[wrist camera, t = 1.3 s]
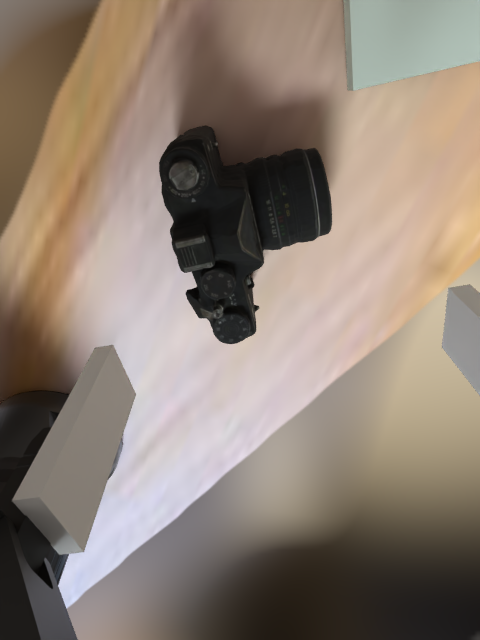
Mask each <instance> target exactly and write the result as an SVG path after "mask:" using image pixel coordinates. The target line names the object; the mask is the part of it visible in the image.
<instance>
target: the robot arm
mask: <svg viewBox="0 0 480 640" xmlns="http://www.w3.org/2000/svg"><path fill="white" fill-rule="evenodd" d="M442 348H443V349H444V350H445V352H446V353H447V354H448V355H449V356H450V358H451V359H452V361H453V362H454V363H455V364H456V365H457V367H458V368H459V370H460V371H461V372H462V373H463V375H464V376H465V377H466V379H467V380H468V381H469V382H470V384H471V385H472V386H473V388H474V389H475V390H476V391H477V393H478V394H479V395H480V293H479V292H478V291H477V290H476V289H475V288H473V287H472V286H471V285H463V286H457V287H452V288H448V295H447V306H446V314H445V323H444V332H443V342H442ZM135 396H136V393H135V391H134V389H133V387H132V385H131V383H130V380H129V378H128V376H127V374H126V372H125V370H124V368H123V365H122V363H121V361H120V359H119V357H118V355H117V352H116V350H115V348H114V346H113V345H109V346H103V347H98V348H95V349H94V351H93V353H92V355H91V356H90V358H89V360H88V362H87V364H86V366H85V367H84V369H83V371H82V373H81V375H80V377H79V378H78V380H77V382H76V384H75V386H74V388H73V389H72V391H71V393H70V395H66V394H62V393H57V392H49V391H33V392H26V393H21V394H17V395H15V396H12V397H10V398H8V399H6V400H5V401H3V402H2V403H1V404H0V640H77V637H76V634H75V631H74V629H73V626H72V623H71V620H70V618H69V615H68V612H67V609H66V607H65V604H64V601H63V598H62V596H61V593H60V590H59V587H58V584H59V581H60V579H61V576H62V573H63V570H64V567H65V564H66V561H67V559H68V556H69V554H71V553H80V552H84V550H85V547H86V544H87V541H88V538H89V535H90V532H91V529H92V526H93V523H94V520H95V517H96V514H97V511H98V508H99V505H100V502H101V499H102V496H103V492H104V489H105V486H106V483H107V481H108V479H109V478H110V477H111V476H112V474H113V473H114V471H115V469H116V467H117V464H118V461H119V458H120V454H121V451H122V439H121V438H122V435H123V432H124V429H125V426H126V423H127V420H128V417H129V414H130V411H131V408H132V405H133V402H134V399H135Z"/></svg>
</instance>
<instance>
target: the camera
mask: <svg viewBox="0 0 480 640" xmlns="http://www.w3.org/2000/svg"><path fill="white" fill-rule="evenodd" d="M217 145H218V142H216V138H215V134H214V131H213V129H212V128H211V127H208V126H202V127H197V128H194V129H190V130H188V131H187V132H185V133H184V135H180V136H179V137H178V138H177V139H175V140H174V141H172V142H171V143H170V144H169V145H168V147H167V149H166V150H165V152H164V154H163V155H162V157H161V159H160V162H159V172H160V177H161V182H162V195H163V199H164V203H165V206H166V208H167V210H168V211H169V213H170V214H171V216H172V218H173V220H174V223H173V225H172V227H171V229H170V234H171V237H172V246H173V250H174V252H175V254H176V256H177V259H178V264H179V267H180V269H181V271H183V272H184V273H187V272H191V271H192V274H193V276H194V279H195V281H196V284H197V287H196V288H193V289H190V290H187V292H186V296H187V299H188V301H189V303H190V304H191V306H192V307H193V309H194V311H195V312H196V314H197V316H198V317H199V318H207V319H208V320H209V321H210V324H211V327H212V329H213V333H214V335H215V336H216V337H217V339H218V340H219V341H221V342H223V343H227V344H235V343H238V342H240V341H243V340H244V339H245V338H247V337H249V336H252V335H253V334H255V332H256V319H255V311H257V310H258V309H259V306H256V305H254V303H253V291H252V288H253V287H254V282H253V279H252V278H251V277H250V275H251V274H252V273H253V271H255V270H257V269H259V268H260V267H261V266H262V265H263V264H264V257H263V250H278V249H281V248H282V247H286V246H290V245H293V244H295V243H297V242H308V241H313V240H315V239H316V238H317V237H319V236H322V235H325V234H328V233H329V232H330V230H331V226H332V208H331V196H330V191H329V186H328V182H327V178H326V173H325V169H324V165H323V162H322V159H321V156H320V154H319V152H318V151H317V150H316V149H315V148H312V149H307V150H303V149H294V150H291V151H287V152H285V153H283V154H282V155H280V156H278V155H273V156H270V157H267V158H263V157H261V158H257V159H255V160H253V161H251V162H249V163H247V164H244V163H239V164H237V165H231V166H223V163H222V161H221V159H220V155H219V151H218V147H217Z"/></svg>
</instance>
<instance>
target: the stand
mask: <svg viewBox="0 0 480 640" xmlns="http://www.w3.org/2000/svg"><path fill="white" fill-rule="evenodd" d="M343 2H344V24H345V46H346V68H347V90H350V91H354V90H358V89H363V88H367V87H371V86H375V85H380V84H384V83H388V82H392V81H397V80H401V79H405V78H410V77H414V76H418V75H422V74H427V73H431V72H435V71H440V70H444V69H448V68H452V67H457V66H461V65H465V64H470V63H474V62H478V61H480V0H343Z"/></svg>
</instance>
